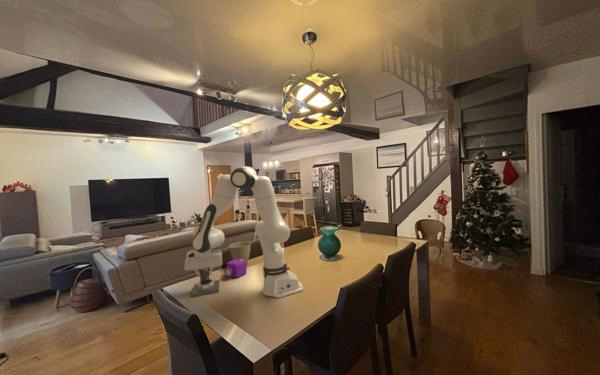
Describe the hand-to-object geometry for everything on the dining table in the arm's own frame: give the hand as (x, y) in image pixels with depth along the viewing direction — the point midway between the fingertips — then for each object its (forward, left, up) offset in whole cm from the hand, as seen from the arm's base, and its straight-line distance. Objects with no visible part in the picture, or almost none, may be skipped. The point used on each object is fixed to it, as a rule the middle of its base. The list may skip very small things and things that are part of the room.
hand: (204, 275), depth 140 cm
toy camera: (-17, -13, -9) cm, 24 cm away
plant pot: (-22, -30, -9) cm, 39 cm away
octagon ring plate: (0, 0, -8) cm, 8 cm away
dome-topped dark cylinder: (0, 0, -4) cm, 4 cm away
